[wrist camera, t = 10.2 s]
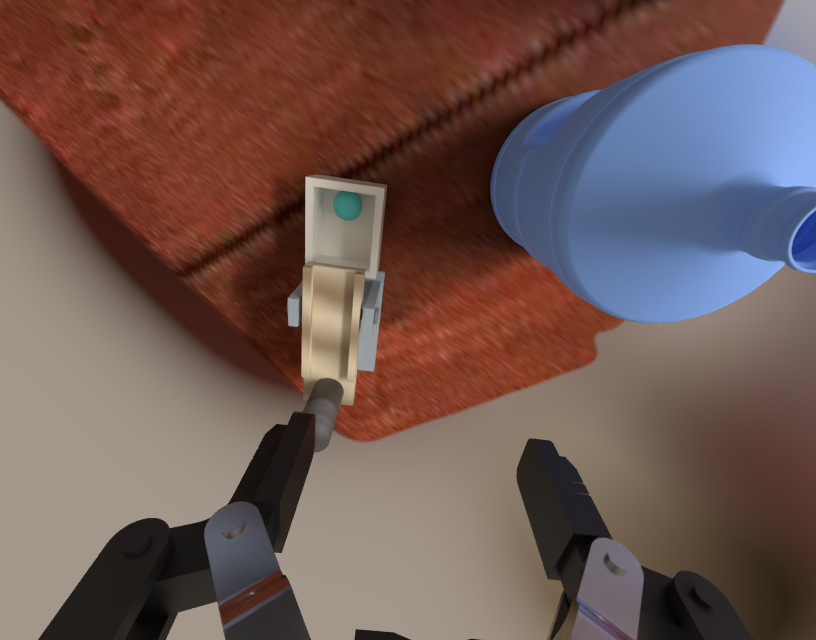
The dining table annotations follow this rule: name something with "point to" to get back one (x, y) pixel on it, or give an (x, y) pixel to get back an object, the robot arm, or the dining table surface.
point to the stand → (368, 322)
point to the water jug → (669, 183)
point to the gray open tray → (344, 224)
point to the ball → (347, 205)
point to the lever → (330, 341)
